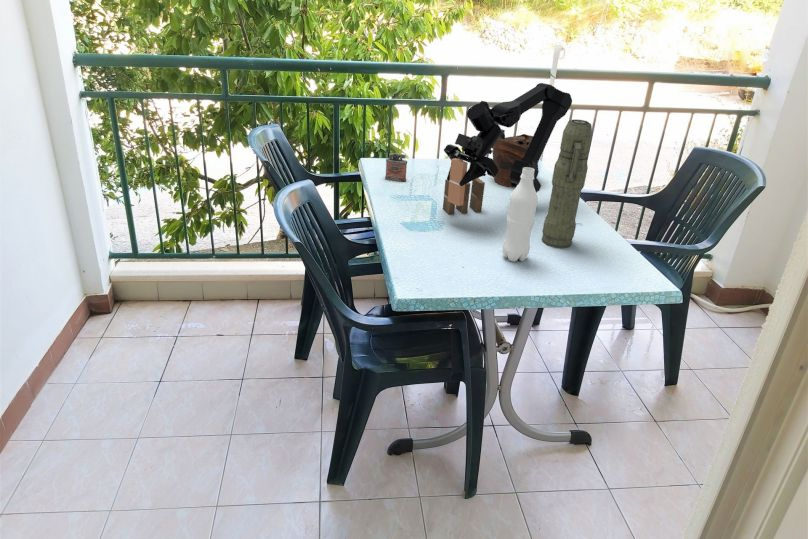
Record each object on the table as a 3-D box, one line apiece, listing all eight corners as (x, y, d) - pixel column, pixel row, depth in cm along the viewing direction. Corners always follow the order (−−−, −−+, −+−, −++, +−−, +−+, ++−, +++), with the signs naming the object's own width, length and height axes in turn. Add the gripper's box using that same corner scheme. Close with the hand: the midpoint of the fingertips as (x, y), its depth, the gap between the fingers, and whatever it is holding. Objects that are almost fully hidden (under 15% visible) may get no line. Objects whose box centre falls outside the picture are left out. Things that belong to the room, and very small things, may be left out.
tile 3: (448, 208, 185) (451, 179, 180) (454, 214, 181) (457, 184, 176) (442, 209, 184) (445, 179, 180) (448, 214, 180) (451, 184, 175)
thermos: (567, 234, 170) (591, 117, 154) (575, 251, 160) (602, 127, 144) (538, 232, 170) (559, 115, 155) (544, 248, 160) (567, 125, 144)
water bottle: (509, 249, 158) (523, 163, 147) (532, 257, 154) (548, 169, 143) (496, 257, 153) (509, 168, 142) (519, 266, 149) (534, 175, 138)
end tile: (451, 200, 171) (456, 158, 166) (463, 205, 168) (467, 162, 162) (447, 201, 170) (451, 159, 164) (458, 206, 167) (463, 163, 161)
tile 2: (461, 207, 186) (464, 178, 182) (467, 213, 182) (470, 183, 177) (455, 208, 185) (458, 178, 181) (461, 213, 181) (464, 183, 177)
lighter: (383, 179, 208) (384, 153, 204) (386, 177, 211) (387, 150, 206) (404, 182, 206) (406, 155, 202) (407, 180, 209) (408, 153, 205)
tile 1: (474, 206, 188) (478, 177, 183) (481, 212, 184) (485, 182, 179) (469, 207, 187) (472, 178, 183) (475, 212, 183) (479, 183, 178)
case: (533, 175, 222) (540, 130, 214) (537, 192, 205) (544, 143, 196) (488, 172, 224) (493, 127, 216) (487, 188, 207) (493, 139, 198)
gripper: (451, 117, 167) (420, 158, 166) (496, 130, 155) (463, 175, 153) (467, 140, 175) (437, 179, 174) (512, 155, 163) (480, 197, 161)
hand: (453, 182), depth 165 cm, fingers closed on end tile, 5 cm apart
